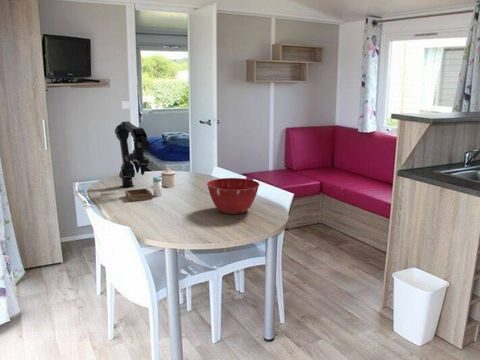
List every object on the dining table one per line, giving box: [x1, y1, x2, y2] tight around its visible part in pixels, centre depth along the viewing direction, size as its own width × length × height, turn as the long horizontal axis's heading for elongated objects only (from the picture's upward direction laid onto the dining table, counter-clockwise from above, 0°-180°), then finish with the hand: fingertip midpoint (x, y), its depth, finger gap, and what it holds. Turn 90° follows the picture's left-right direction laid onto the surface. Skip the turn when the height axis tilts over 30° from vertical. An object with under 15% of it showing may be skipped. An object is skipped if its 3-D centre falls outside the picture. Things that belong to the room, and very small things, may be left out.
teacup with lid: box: [158, 168, 176, 188], centre depth 290 cm, size 12×9×12 cm
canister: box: [152, 176, 163, 198], centre depth 263 cm, size 7×5×12 cm
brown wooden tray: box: [124, 188, 153, 203], centre depth 260 cm, size 13×13×4 cm
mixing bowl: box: [206, 177, 260, 215], centre depth 239 cm, size 28×28×16 cm
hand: (139, 173), depth 269 cm, fingers open, 9 cm apart
